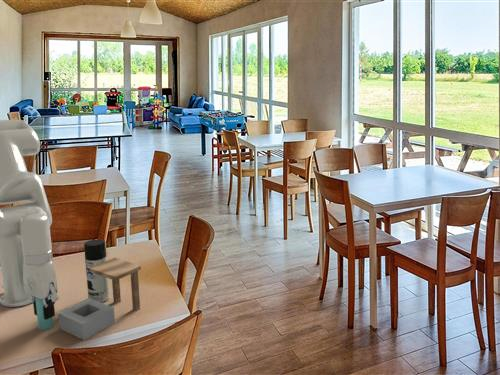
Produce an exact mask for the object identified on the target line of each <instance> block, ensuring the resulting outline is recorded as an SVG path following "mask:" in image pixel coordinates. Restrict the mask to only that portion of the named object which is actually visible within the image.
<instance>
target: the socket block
mask: <svg viewBox="0 0 500 375" xmlns="http://www.w3.org/2000/svg"><path fill="white" fill-rule="evenodd" d="M57 314H58V322H59V329H60V330H62V331H64V332H66V333H68V334H71V335H73V336H74V337H77V338H78V339H81V340H83V341H85V340H87V339H88V338H91V337H93V336H94V335H96V334H97V333H100V332H101V331H103V330H105V329H107V328H108V327H110V326H113V325H114V324H115V323H116V321H115V320H116V318H115V316H116V315H115V307H112V306H111V305H108V304H105V303H104V302H103V303H101V302H98V301H96V300H93V299H91V298H89V299H88V298H87V299H86V300H83V301H81V302H79V303H77V304H75V305H73V306H71V307H68V308H66V309H65V310H64V309H63V310H61V311H60V312H58V313H57Z"/></svg>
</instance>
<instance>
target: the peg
mask: <svg viewBox="0 0 500 375" xmlns="http://www.w3.org/2000/svg"><path fill="white" fill-rule="evenodd" d="M49 294H50V293H49ZM46 299H47V301H48V300H49V299H50V297H49V298H46ZM35 301H36V309H37V315H36V318H37V325H38V330H40V331H47V330H50V329H52V328H53V327H54V318H53V317H54V316H53V317H51V318H49V319H47V320H45V319H44V314H43V307H44V303H43V299H39V298H37V297H35Z"/></svg>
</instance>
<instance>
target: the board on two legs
mask: <svg viewBox="0 0 500 375" xmlns="http://www.w3.org/2000/svg"><path fill="white" fill-rule="evenodd" d="M140 270H142V266H141V265H140V264H136V263H133V262H131V261H126V260H124V259H120V258H118V257H113V258H111V259H109V260H107V261H105V262H103V263H100V264H98V265H95V266H93V267H90V268H89V272H92V273H95V274H98V275H100V276H103V277H106V278H108V280H111V282H112V285H111V286H112V297H113V299H112V300H113V303H115V304H118V303H120V302H122V298H121V285H120V279H123V278H126V277H127V276H130V285H131V286H130V288H131V300H132V301H131V302H132V310H134V311H139V310H141V302H140V284H139V271H140Z"/></svg>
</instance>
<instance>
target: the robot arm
mask: <svg viewBox="0 0 500 375" xmlns="http://www.w3.org/2000/svg"><path fill="white" fill-rule="evenodd" d="M40 151H41V142H40V138H39V136H38V134H37V132H36V131H35V130H34V128H33V127H32V126H31V125H29V124H28V123H27V122H26V121H25V120H22V119H0V206H1V205H11V204H17V203H22V202H28V203H24V204H23V203H22V204H17V205H11V206H6V207H2V208H1V207H0V271H1V279H2V284H1V288H2V289H3V293H4V294H2V295H1V296H0V305H1V306H4V307H7V308H18V307H24V306H27V305H30V304H33V311H34V315H35V316H37V309H36V301H35V297H37V298H39V299H43V303H44V307H43V314H44V319H45V320H47V319H49V318H51V317H55V316H56V313H55V312H56V308H55V304H56V301H58V300H59V299H60V297H59V295H58V289H59V288H58V280H57V275H56V269H55V265H54V261H53V260H54V257H53V256H54V255H53V247H52V237H51V226H52V224H53V217H52V212H51V207H50V205H49V201H48V197H47V194H46V191H45V187H44V184H43V181H42V178H41V177H40V176H39V175H38V174H37V173H35V172H30V171H28V168H27V165H26V161H25V159H24V157H27V156H36V155H38V154H39V152H40ZM49 293H50V294H49ZM49 297H50V299H49V300H48V301H47V299H46V298H49Z"/></svg>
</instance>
